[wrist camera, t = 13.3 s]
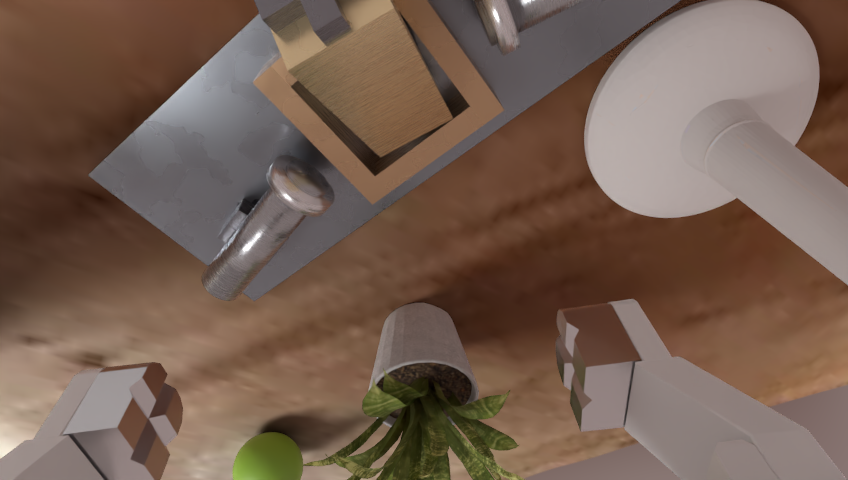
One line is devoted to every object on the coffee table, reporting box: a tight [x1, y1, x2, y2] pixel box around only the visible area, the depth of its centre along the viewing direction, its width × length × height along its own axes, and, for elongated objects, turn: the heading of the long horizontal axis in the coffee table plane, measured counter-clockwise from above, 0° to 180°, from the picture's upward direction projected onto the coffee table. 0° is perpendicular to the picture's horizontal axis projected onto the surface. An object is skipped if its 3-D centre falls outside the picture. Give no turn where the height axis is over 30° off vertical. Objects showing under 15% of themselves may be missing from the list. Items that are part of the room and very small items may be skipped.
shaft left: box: [202, 155, 335, 301], centre depth 29 cm, size 9×4×4 cm, turn 139°
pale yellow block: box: [254, 0, 453, 157], centre depth 21 cm, size 4×4×10 cm
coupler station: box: [88, 0, 680, 301], centre depth 26 cm, size 32×12×4 cm, turn 127°
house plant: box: [304, 303, 525, 480], centre depth 31 cm, size 14×14×16 cm
